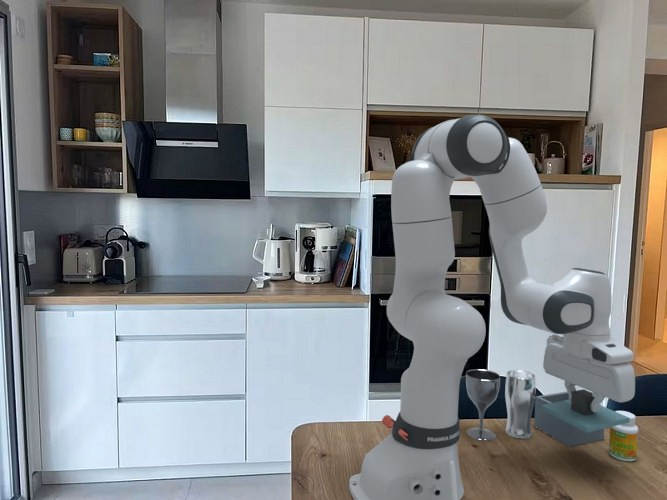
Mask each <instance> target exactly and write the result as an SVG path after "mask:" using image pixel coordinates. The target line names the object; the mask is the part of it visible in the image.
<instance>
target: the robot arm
mask: <svg viewBox="0 0 667 500" xmlns="http://www.w3.org/2000/svg"><path fill="white" fill-rule="evenodd" d="M466 178H471V179H472V180H473V181H474V183H476V185H477V187H478V189H479V192H480V195H481V198H482V201H483V204H484V207H485V210H486V214H487V217H488V222H489V226H488V237H489V242H490V243H489V244H490V248H491V252H492V256H493V260H494V263H495V268H496V271H497V276H498V279H499V284H500V285H499V286H500V305H501V310H502V312H503V314H504V316H505V317H506V318H507V319H508V320H509V321H511V322H512V323H516V324H520V325H524V326H529V327H532V328H535V329H538V330H541V331H545V332H548V333H551V335H549V336H548V337H547V339H546V347H545V349H544V350H545V351H544V355H543V363H542V367H543V370H544V373H546V374H548V375H549V376H553V377H555V378H557V379H560V380H562V381H564V383H563V384H564V388H565V389H566V392H568V394H569V401H570V402H571V395H572V391H577V388H576V387H579V388H582V389H584V390H586V391H589V392H591V393H593V394H592V396H593V397H595V398H594V400H593V401H592V402H588V410H590V411H592V412H594V413H595V412H599V411H600V405H601V404H602V403H603V401H604V400H605V398H607V399H610V400H612V401H615V402H617V403H625V402H629V401H631V400H632V399H633V398H634V397H635V393H636V377H635V369H634V367H633V365H632V364H631V363H630V362H631V361H633V360H634V358H635V357H634V356H635V355H634V352H633V351H632V350H631V349H629V348H628V347H626V346H625V345H623V344H621V343H620V342H619V341H617V340H615V338H613V337H611V327H610V324H609V322H610V316H611V314H612V301H613V300H612V285H611V282H610V281H611V280H610V278H609V276H608V275H607V274H606V273H605V272H603V271H598V270H594V269H588V268H587V269H586V268H580V267H573V268H570V269H569V270H568V272H567V274H566V275H565V276H564V277H562V278H561V279H559V280H557V281H555V282H554V283H551V284H546V283H540V282H538V281H536V280H535V279H533V278H532V277H531V276H530V274H529V272H528V268H527V265H526V263H527V262H526V259H525V255H524V251H523V243H522V242H523V239H524V238H525V237H526V236H527V235H529V234H531V233H532V232H535V231H536V230H537V229H538V228H539V227H540V226H541V225H542V223H543V222H544V220H545V218H546V217H547V213H548V206H547V205H548V204H547V198H546V194H545V192H544V188H543V186H542V183H541V180H540V177H539V175H538V173H537V170H536V168H535V165H534V164H533V162H532V159H531V158H530V156H529V154H528V152H527V150H526V149H525V147H524V145H523V144H522V142H520V140H518V139H517V138H513V137H508V135H507V134H506V132H505V131H504V129H503V128H502V127H501V125H500V124H499V123H498V122H497V121H496V120H495V119H493V118H492V117H490V116H488V115H483V114H469V115H465V116H462V117H460V118H456V119H455V118H454V119H448V120H446V121H443V122H441V123H439V124H436V125H435V126H432V127H429V128H427V129H426V130H425V131H423V132H422V133H421V134H420V135H419V136H418V137H417V139H416V141H415V143H414V144H413V147H412V150H411V155H410V158H409V159H408V161H406V162H405V163H403V164H401V165H400V166H398V167H397V169H396V170H395V171H394V173H393V175H392V179H391V193H390V195H391V196H390V197H391V199H390V200H391V201H390V202H391V203H390V209H391V213H390V214H391V222H392V232H393V233H392V234H393V243H394V254H395V271H394V272H395V274H394V281H393V282H394V283H393V290H392V294H391V295H390V297H389V299H388V301H387V304H386V316H387V319H388V321H389V323H390V324H391V325H392V327H393V328H394V329H395V330H396V332H397V333H399V335H401V336H403V337H404V338H406V339H408V340H409V341H411V342H412V344H413V353H412V358H411V361H410V365H409V367H408V368H407V369H406V370H404V372H403V373H402V374H401V378H400V406H399V408H400V409H399V410H400V411H399V412H398V415H397V417H396V419H394V418H392V417H391V415H388V414H386V415H384V416H383V418H382V419H381V424H383V425H384V426H385V427H386V428H387V429H391V433H390V434H388V435H387V436H386V437H385V438H384V439H382V440H381V441H380V442H379V443H378V444H377V445H375V446H374V447H373V448H372V449H371V450H369V451H368V452H367V453H366V454H365V456H364V457H363V460H362V463H361V464H362V465H361V469H360V473H356V474H354V475H352V476H350V478H349V481H348V482H349V483H348V488H349V489H348V490H349V493H350V495H351V496H352V497H351V498H353V500H462V498H463V497H464V494H465V488H464V484H463V480H462V475H461V471H460V463H459V451H458V446H459V445H458V442H459V441H460V435H461V434H460V433H461V432H460V431H461V430H460V429H461V427H460V424H461V423H460V418H459V417H458V415H459V397H460V394H459V393H460V383H461V379H462V374H463V372H464V369H465V366H466V363H467V361H468V360H469V358H471V357H473V356H474V355H475V354H476V353H478V351H479V350H480V349H481V348H482V346H483V343H484V342H485V338H486V332H487V330H486V322H485V319H484V318H483V315H482V314H481V313H480V312H479V311H478V310H477V309H476V308H474V307H473V306H472V305H471V304H470V303H467V302H466V301H465V300H464V299H461V298H459V297H457V296H452V295H450V294H447V293H446V289H445V283H446V277H447V273H448V269H449V267H450V266H451V265H452V264H453V262H454V260H455V258H456V257H455V256H456V251H455V241H454V240H455V239H454V230H453V229H454V228H453V218H452V209H451V208H452V207H451V203H450V195H451V189H452V185H453V183H454V181H455V180H462V179H466ZM560 335H563V336H560ZM575 386H576V387H575Z"/></svg>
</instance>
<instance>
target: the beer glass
mask: <svg viewBox="0 0 667 500" xmlns="http://www.w3.org/2000/svg"><path fill="white" fill-rule="evenodd" d="M536 386H537V384H536V375H535V374H533V373H532V372H529V371H526V370H519V369H513V370H512V369H511V370H508V371H507V372H506V378H505V387H504V389H505V390H504V397H505V403H506V404H505V405H506V412H507V420H506V425H505V431H506V432H505V433H506V434H507V436H509V435H510V436H509V437H511V436H512V437H511V438H514V437H515V438H514V439H518V438H521V439H520V440H528V439H530V438H532V436H533V435H532V434H533V433H532V432H533V431H532V426H531V420H532V414H533V411H534V408H535V399H536V395H537V394H536V391H537V389H536ZM527 438H528V439H527Z"/></svg>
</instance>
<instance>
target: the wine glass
mask: <svg viewBox="0 0 667 500" xmlns="http://www.w3.org/2000/svg"><path fill="white" fill-rule="evenodd" d="M465 385H466V392H467V395H468V397H469V399H470V400H471V401H472V403H473V405H475V407H476V408H477V410H478V418H479V425H478V427H479V428H478V427H477V426H474V427H475V428H472V427H470V428H471V429H469V428H467V429H468V431H467V434H469V435H470V437H469V438H471V437H472V438H471V439H473V438H474V439H473V440H477V441H482V440H483V441H485V442H487V441H493V440H495V439H496V438H497V435H496V433H495V432H494V431H492V430H491V429H488V428H484V425H483V424H484V422H483V421H484V416H485V412H486V410H487V409H488V408H489V407H490V406H491V405H492V404H493V403H494V402H495V401H496V400H497V398H498V394H499V391H500V386H501V375H500V374H499V373H497V372H495V371H493V370H489V369H484V368H483V369H479V368H476V369H475V368H474V369H468V370H466V372H465ZM476 427H477V428H476ZM490 430H491V431H490ZM493 432H494V433H495V434H494V433H493ZM467 434H466V435H467Z"/></svg>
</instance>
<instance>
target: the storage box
mask: <svg viewBox="0 0 667 500" xmlns="http://www.w3.org/2000/svg"><path fill="white" fill-rule="evenodd" d="M564 400H569V394H568V392H567V391H562V392H557V393H555V392H554V393H549V394H542V395H535V402H534V424H533V425H534V427H533V428H535V427H537V428H538V429H537V428H536V429H537V430H539V429H540V430H542V431H544V432H546V433H547V434H546V433H545V434H546V435H548V434H549V435H551V436H553V437H554V438H553V437H552V438H553V439H555V438H556V439H555V440H557V439H558V440H559V442H560V441H561V443H562V442H563V443H562V444H564V445H566V446H567V445H568V446H567V447H569V448H571V447H576V446H580V444H581V445H585V444H589V443H588V442H590V443H593V442H599V441H602V440H605V428H604V429H600V430H596V431H591V432H585V431H583V430H581V429H579V428H577V427H575V426H573V425H571V424H569V423H567V422H565V421H563V420H561V419H559V418H557V417H555V416H553V415H551V414H549V413H547V412H545V411H543V410H541V405H544V404H549V403H554V402H559V401H564ZM602 406H603V405H602ZM603 407H605V408H607V407H606V406H603ZM540 430H539V431H540ZM542 431H541V432H542ZM544 432H543V433H544ZM549 435H548V436H549ZM551 436H550V437H551ZM558 440H557V441H558Z"/></svg>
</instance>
